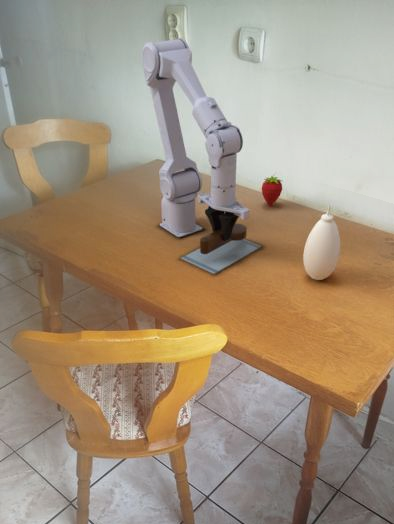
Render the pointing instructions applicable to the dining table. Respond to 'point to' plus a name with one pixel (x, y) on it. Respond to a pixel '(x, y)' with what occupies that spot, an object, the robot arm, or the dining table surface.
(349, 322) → the dining table surface
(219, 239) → the spoon
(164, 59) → the robot arm
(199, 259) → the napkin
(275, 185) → the strawberry
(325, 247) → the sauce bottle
